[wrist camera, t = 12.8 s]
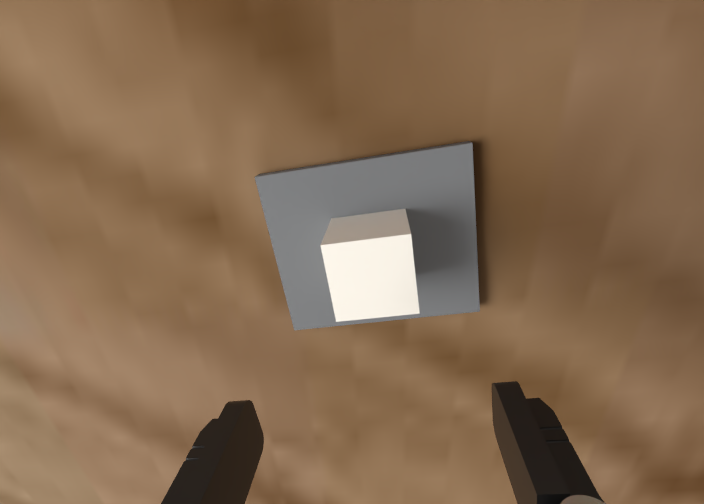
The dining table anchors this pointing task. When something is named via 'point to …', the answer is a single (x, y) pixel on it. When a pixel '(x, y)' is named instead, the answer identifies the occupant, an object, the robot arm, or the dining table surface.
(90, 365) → the dining table surface
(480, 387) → the dining table surface
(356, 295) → the white cube
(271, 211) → the rubber mat
